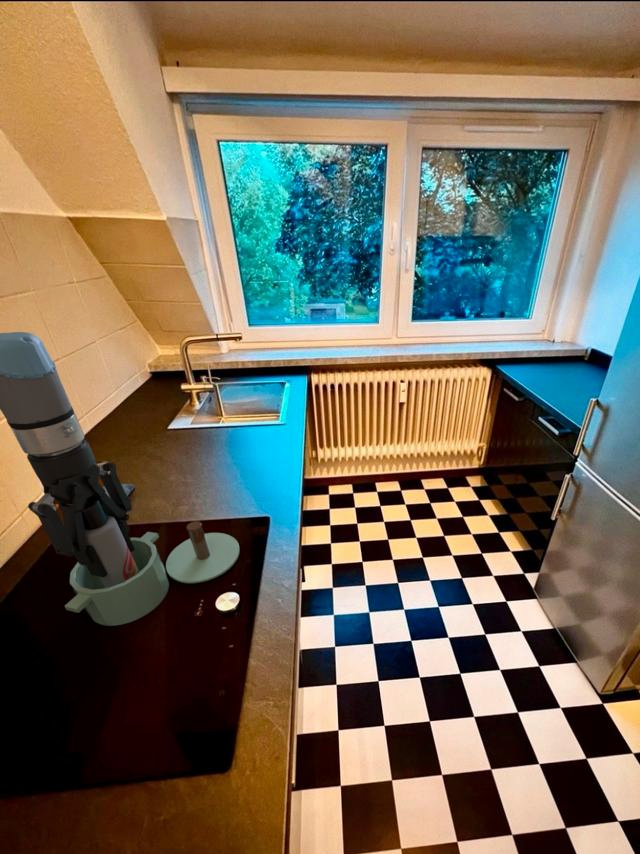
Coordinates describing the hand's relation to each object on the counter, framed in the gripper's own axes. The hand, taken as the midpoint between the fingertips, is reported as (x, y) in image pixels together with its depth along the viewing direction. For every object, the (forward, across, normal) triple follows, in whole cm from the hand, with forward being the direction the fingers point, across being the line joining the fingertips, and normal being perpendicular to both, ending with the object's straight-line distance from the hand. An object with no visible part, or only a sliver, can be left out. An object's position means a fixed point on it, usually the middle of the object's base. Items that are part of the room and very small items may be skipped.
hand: (113, 561), depth 69 cm
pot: (+9, 0, 0) cm, 9 cm away
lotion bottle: (+7, 0, 0) cm, 7 cm away
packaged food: (+9, +23, +26) cm, 36 cm away
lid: (+8, +12, -8) cm, 17 cm away
